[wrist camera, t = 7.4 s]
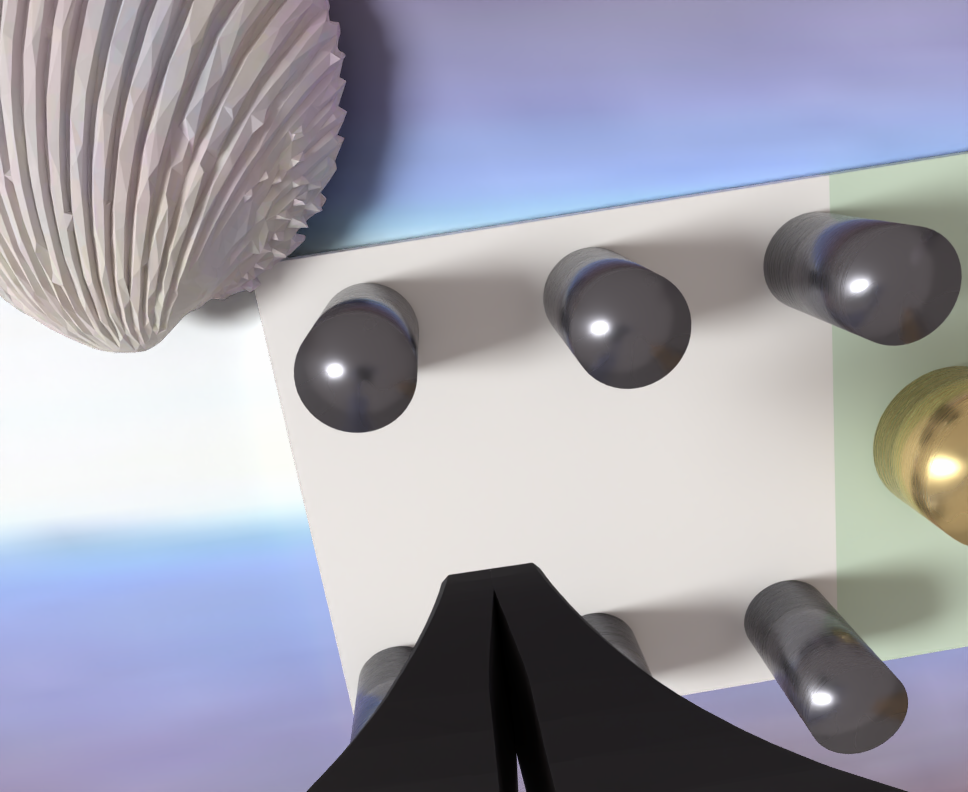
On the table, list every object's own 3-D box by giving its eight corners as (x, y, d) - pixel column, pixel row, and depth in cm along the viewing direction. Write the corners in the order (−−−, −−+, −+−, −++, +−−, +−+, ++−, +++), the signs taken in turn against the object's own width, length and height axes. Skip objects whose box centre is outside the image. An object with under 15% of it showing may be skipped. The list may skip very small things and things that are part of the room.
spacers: (861, 640, 23) (948, 737, 19) (366, 725, 23) (355, 841, 19) (858, 204, 19) (963, 217, 16) (268, 297, 19) (229, 333, 15)
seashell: (-151, 406, 16) (-424, -195, 12) (-6, 311, 21) (-161, -141, 17) (350, 382, 16) (266, -236, 12) (379, 292, 21) (328, -169, 17)
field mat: (1023, 622, 24) (1038, 634, 23) (363, 736, 24) (361, 750, 23) (1053, 137, 20) (1071, 137, 19) (253, 262, 19) (248, 266, 19)
